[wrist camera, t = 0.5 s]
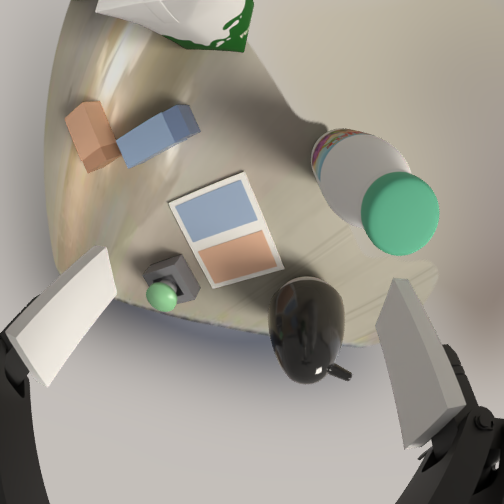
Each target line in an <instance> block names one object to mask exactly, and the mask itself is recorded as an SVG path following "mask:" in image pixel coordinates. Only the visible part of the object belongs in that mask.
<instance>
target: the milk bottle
mask: <svg viewBox="0 0 504 504" xmlns="http://www.w3.org/2000/svg"><path fill="white" fill-rule="evenodd" d="M311 166H312V170H313V173H314V175H315V178H316V180H317V183H318V185H319V187H320V189H321V192H322V194H323V196H324V198H325V199H326V201H327V203H328V205H329V206H330V208H331V209H332V210H333V211H334V212H335V213H336V214H337V215H338V216H339V217H340V218H341V219H343V220H344V221H346V222H347V223H349V224H351V225H353V226H356V227H359V228H363V229H364V230H365V231H366V234H367V235H368V237H369V238H370V240H371V241H372V242H373V244H374V245H375V246H376V247H378V248H379V249H380V250H382V251H384V252H385V253H388V254H391V255H396V256H402V255H408V254H411V253H414V252H416V251H417V250H419V249H421V248H422V247H423V246H425V245H426V244H427V242H428V241H429V240H430V239H431V238H432V236H433V234H434V232H435V230H436V228H437V225H438V221H439V205H438V201H437V198H436V196H435V194H434V192H433V190H432V189H431V188H430V187H429V185H428V184H426V183H425V182H424V181H423V180H421V179H420V178H418V177H416V176H415V175H412V174H411V171H410V168H409V165H408V163H407V161H406V160H405V158H404V157H403V156H402V154H401V153H400V152H399V151H398V150H397V149H396V148H395V147H394V146H392V145H391V144H390V143H388V142H387V141H385V140H383V139H381V138H378V137H376V136H374V135H371V134H367V133H363V132H360V131H355V130H350V129H334V130H331V131H328V132H326V133H325V134H323V135H322V136H321V137H320V138H319V139H318V140H317V141H316V143H315V145H314V147H313V149H312V153H311Z"/></svg>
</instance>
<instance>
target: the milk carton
mask: <svg viewBox="0 0 504 504" xmlns="http://www.w3.org/2000/svg"><path fill="white" fill-rule="evenodd" d="M253 7H254V2H253V0H99V1H98V4H97V7H96V11H95V12H96V13H99V14H104V15H108V16H112V17H116V18H120V19H123V20H127V21H130V22H133V23H136V24H139V25H142V26H144V27H146V28H148V29H150V30H152V31H154V32H156V33H158V34H160V35H162V36H164V37H166V38H168V39H170V40H172V41H173V42H175V43H177V44H179V45H180V46H182V47H184V48H186V49H201V50H222V51H235V52H244V50H245V45H246V40H247V35H248V31H249V26H250V21H251V17H252V12H253Z"/></svg>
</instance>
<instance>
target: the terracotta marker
mask: <svg viewBox="0 0 504 504" xmlns="http://www.w3.org/2000/svg"><path fill="white" fill-rule="evenodd" d="M65 121H66V124H67V127H68V129H69V132H70V135H71V137H72V140H73V142H74V145H75V147H76V150H77V152H78V154H79V157H80V159H81V161H83V163H84V166H85V168H86V170H87V172H88V173H90V172H93V171H95V170H98V169H100V168H103V167H105V166H106V165H108V164H109V163H111V162H112V161H114V160H115V159H117V158H118V157H120V156H121V155H122V154H121V152H120V149H119V147H118V145H117V143H116V139H115V136H114V134H113V132H112V129H111V127H110V125H109V122H108V120H107V117H106V115H105V112H104V110H103V108H102V105H101V102H100V101H94V102H82V103H81V104H80V105H79V106H78V107H77V108H75V109H74V110H73V111H72V112H71V113H70V114H69V115H68V116H67V117H66V118H65Z"/></svg>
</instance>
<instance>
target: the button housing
mask: <svg viewBox="0 0 504 504" xmlns="http://www.w3.org/2000/svg"><path fill="white" fill-rule="evenodd" d="M142 276H143V277H144V279H145V281H146V282H147V284H148V286H149V287H150V285H151V284H153V283H156V282H160V281H161V280H163V279H168V280H170V281H172V282H173V283H174V284H175V285H176V287H177V292H176V295H177V299H178V300H177V304H179V303H183V302H187V301H191V300H195V298H196V296H197V294H198V292H199V290H200V286H199V284H198V282H197V280H196V279H195V277H194V275H193V273H192V272H191V270H190V268H189V266H188V264H187V262H186V261H185V259H184V257H183V255H182V254H181V255H178V256H175V257H172V258H170V259H167V260H164V261H161V262H158V263H155V264H152V265H150V267H149V268H148V269H147V270H146V271H145V273H144V274H143V275H142Z"/></svg>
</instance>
